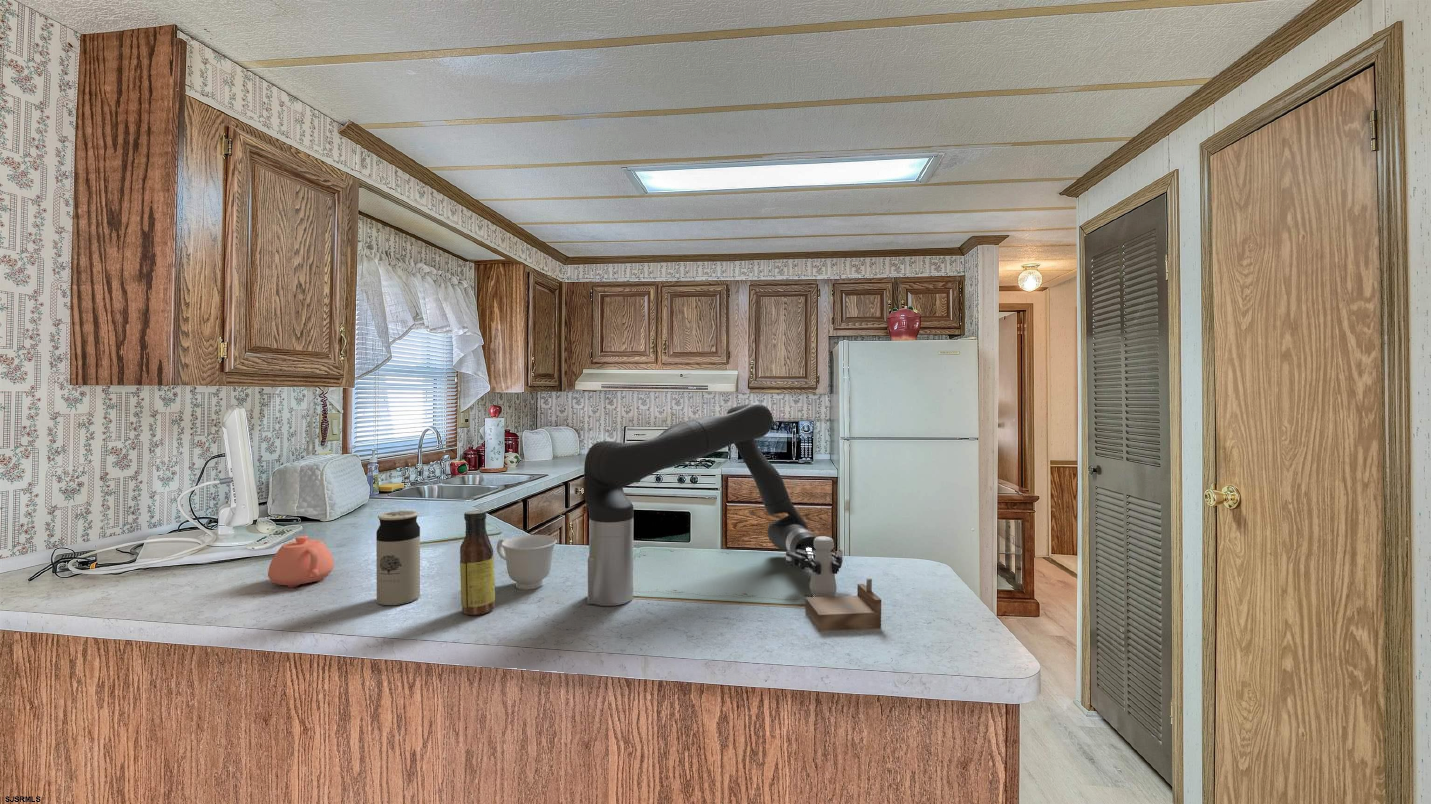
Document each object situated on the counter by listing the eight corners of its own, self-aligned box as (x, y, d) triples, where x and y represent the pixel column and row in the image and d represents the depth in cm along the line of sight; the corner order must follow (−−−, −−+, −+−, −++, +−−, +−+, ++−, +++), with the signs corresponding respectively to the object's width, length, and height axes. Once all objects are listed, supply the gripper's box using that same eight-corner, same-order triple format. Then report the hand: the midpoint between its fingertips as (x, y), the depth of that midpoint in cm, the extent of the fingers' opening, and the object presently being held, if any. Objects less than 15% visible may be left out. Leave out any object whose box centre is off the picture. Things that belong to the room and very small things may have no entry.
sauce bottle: (501, 607, 117) (501, 509, 116) (479, 618, 111) (479, 516, 110) (475, 603, 119) (475, 507, 118) (452, 614, 113) (452, 513, 113)
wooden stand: (818, 631, 107) (819, 589, 106) (805, 612, 116) (805, 573, 115) (881, 628, 108) (881, 586, 108) (862, 610, 117) (863, 571, 117)
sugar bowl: (321, 569, 140) (321, 527, 140) (346, 580, 132) (346, 536, 132) (259, 582, 130) (259, 537, 130) (282, 596, 122) (282, 548, 122)
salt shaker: (820, 604, 120) (821, 542, 120) (803, 595, 125) (804, 536, 125) (842, 600, 123) (843, 539, 122) (825, 591, 128) (826, 533, 127)
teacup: (515, 572, 139) (515, 531, 139) (567, 580, 133) (567, 537, 133) (478, 588, 128) (478, 543, 127) (533, 598, 122) (533, 551, 122)
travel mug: (396, 591, 125) (396, 509, 125) (428, 594, 124) (428, 511, 123) (367, 604, 117) (366, 516, 117) (401, 608, 116) (401, 519, 116)
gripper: (776, 532, 137) (795, 552, 120) (833, 530, 139) (860, 550, 121) (775, 563, 137) (794, 588, 120) (832, 562, 139) (859, 586, 122)
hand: (827, 569), depth 121 cm, fingers closed on salt shaker, 3 cm apart
